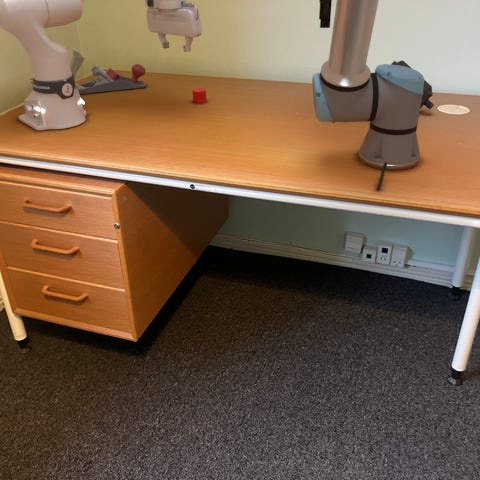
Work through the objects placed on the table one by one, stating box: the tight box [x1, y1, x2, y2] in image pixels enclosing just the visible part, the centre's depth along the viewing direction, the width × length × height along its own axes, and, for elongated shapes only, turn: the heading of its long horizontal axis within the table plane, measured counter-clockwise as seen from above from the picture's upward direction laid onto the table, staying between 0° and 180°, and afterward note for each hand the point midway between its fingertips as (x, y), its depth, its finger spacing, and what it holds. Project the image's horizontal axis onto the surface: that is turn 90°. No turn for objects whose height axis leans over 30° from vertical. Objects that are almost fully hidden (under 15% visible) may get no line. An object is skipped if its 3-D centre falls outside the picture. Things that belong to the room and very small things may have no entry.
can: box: [191, 87, 207, 105], centre depth 182 cm, size 5×5×4 cm
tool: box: [390, 60, 435, 111], centre depth 170 cm, size 6×19×15 cm, turn 51°
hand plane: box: [70, 48, 146, 95], centre depth 194 cm, size 7×31×15 cm, turn 107°
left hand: (176, 49), depth 164 cm, fingers open, 8 cm apart
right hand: (324, 23), depth 154 cm, fingers open, 13 cm apart
